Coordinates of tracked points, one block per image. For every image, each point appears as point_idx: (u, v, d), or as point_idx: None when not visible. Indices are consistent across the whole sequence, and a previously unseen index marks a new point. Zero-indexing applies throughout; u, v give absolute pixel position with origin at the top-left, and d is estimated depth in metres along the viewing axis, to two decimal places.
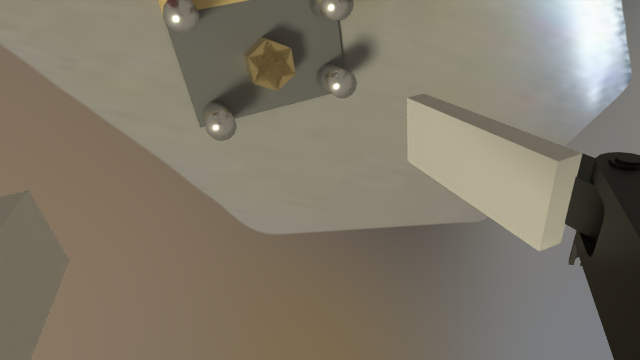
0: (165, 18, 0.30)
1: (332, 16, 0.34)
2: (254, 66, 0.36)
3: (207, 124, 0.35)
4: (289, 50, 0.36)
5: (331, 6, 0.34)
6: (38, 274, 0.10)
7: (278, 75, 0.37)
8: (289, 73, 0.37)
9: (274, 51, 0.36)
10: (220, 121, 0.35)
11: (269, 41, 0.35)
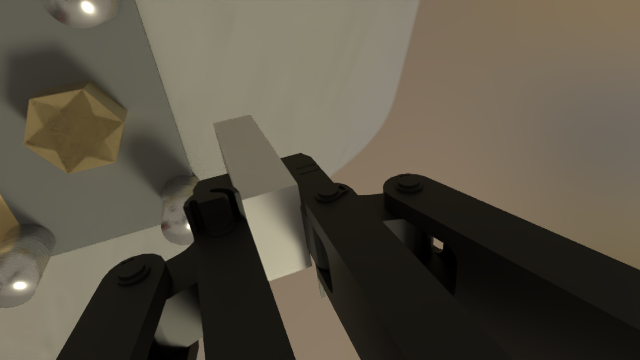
0: (17, 304, 0.21)
1: None
2: (82, 163, 0.21)
3: (182, 243, 0.23)
4: (35, 102, 0.19)
5: None
6: None
7: (92, 121, 0.20)
8: (84, 101, 0.20)
9: (43, 129, 0.20)
10: (176, 227, 0.23)
11: (26, 139, 0.20)
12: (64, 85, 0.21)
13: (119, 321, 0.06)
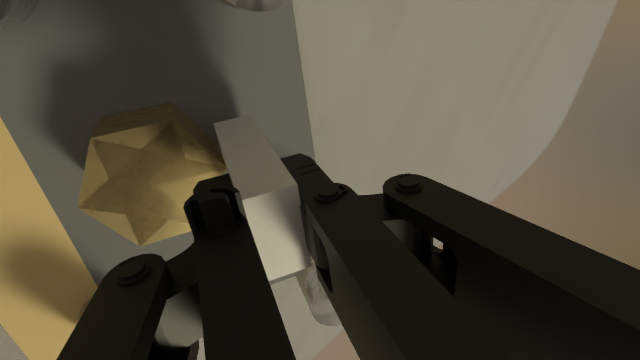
0: None
1: None
2: (162, 229, 0.14)
3: (333, 323, 0.16)
4: (99, 142, 0.12)
5: None
6: None
7: (182, 168, 0.13)
8: (172, 138, 0.13)
9: (109, 184, 0.12)
10: (330, 304, 0.16)
11: (82, 200, 0.12)
12: (132, 110, 0.14)
13: (120, 321, 0.06)
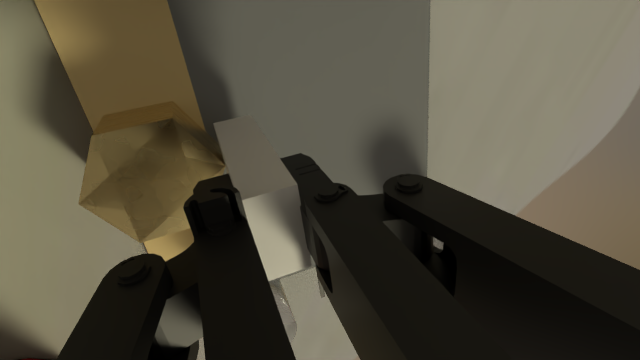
0: None
1: None
2: (161, 226, 0.14)
3: None
4: (100, 140, 0.12)
5: None
6: None
7: (181, 166, 0.13)
8: (172, 136, 0.13)
9: (110, 180, 0.13)
10: None
11: (84, 196, 0.13)
12: None
13: (119, 321, 0.06)
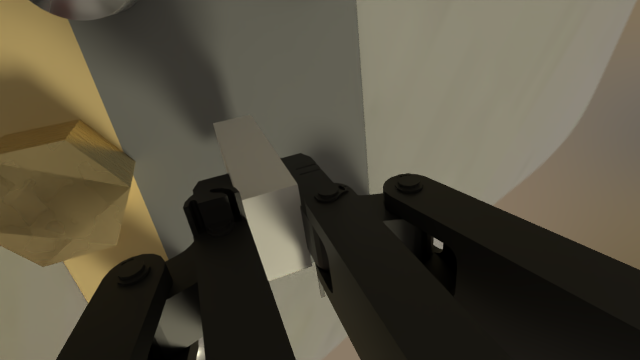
0: None
1: None
2: (65, 249, 0.14)
3: None
4: None
5: None
6: None
7: (81, 189, 0.13)
8: (67, 158, 0.12)
9: (1, 205, 0.12)
10: None
11: None
12: (38, 128, 0.14)
13: (119, 321, 0.06)
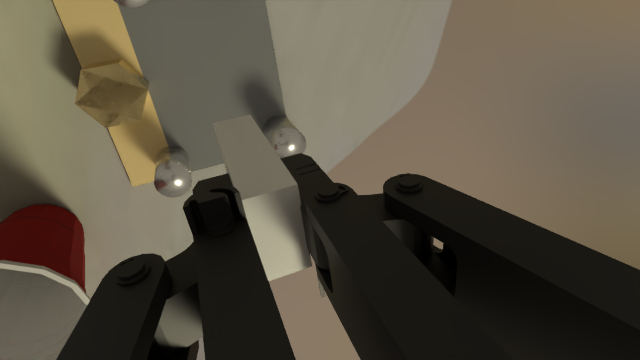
0: (178, 195, 0.30)
1: None
2: (116, 119, 0.28)
3: None
4: (84, 72, 0.26)
5: None
6: None
7: (125, 88, 0.27)
8: (119, 72, 0.27)
9: (90, 93, 0.27)
10: (284, 146, 0.31)
11: (77, 100, 0.27)
12: None
13: (119, 321, 0.06)
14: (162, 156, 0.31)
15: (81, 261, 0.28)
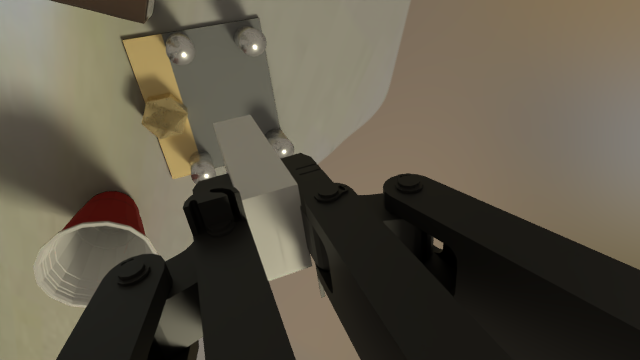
0: None
1: (192, 57, 0.38)
2: (167, 133, 0.42)
3: None
4: (149, 103, 0.40)
5: (183, 59, 0.38)
6: None
7: (173, 113, 0.42)
8: (170, 102, 0.41)
9: (151, 116, 0.41)
10: (278, 151, 0.46)
11: (143, 121, 0.41)
12: (157, 95, 0.42)
13: (119, 321, 0.06)
14: (195, 158, 0.45)
15: (143, 228, 0.43)
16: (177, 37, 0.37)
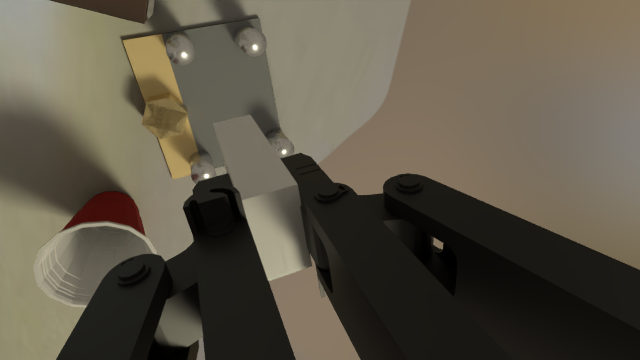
0: None
1: (192, 57, 0.38)
2: (167, 133, 0.42)
3: None
4: (149, 103, 0.40)
5: (183, 59, 0.38)
6: None
7: (173, 113, 0.42)
8: (170, 103, 0.41)
9: (151, 116, 0.41)
10: (278, 151, 0.46)
11: (143, 121, 0.41)
12: (158, 95, 0.42)
13: (119, 321, 0.06)
14: (195, 158, 0.45)
15: (143, 228, 0.43)
16: (177, 37, 0.37)
